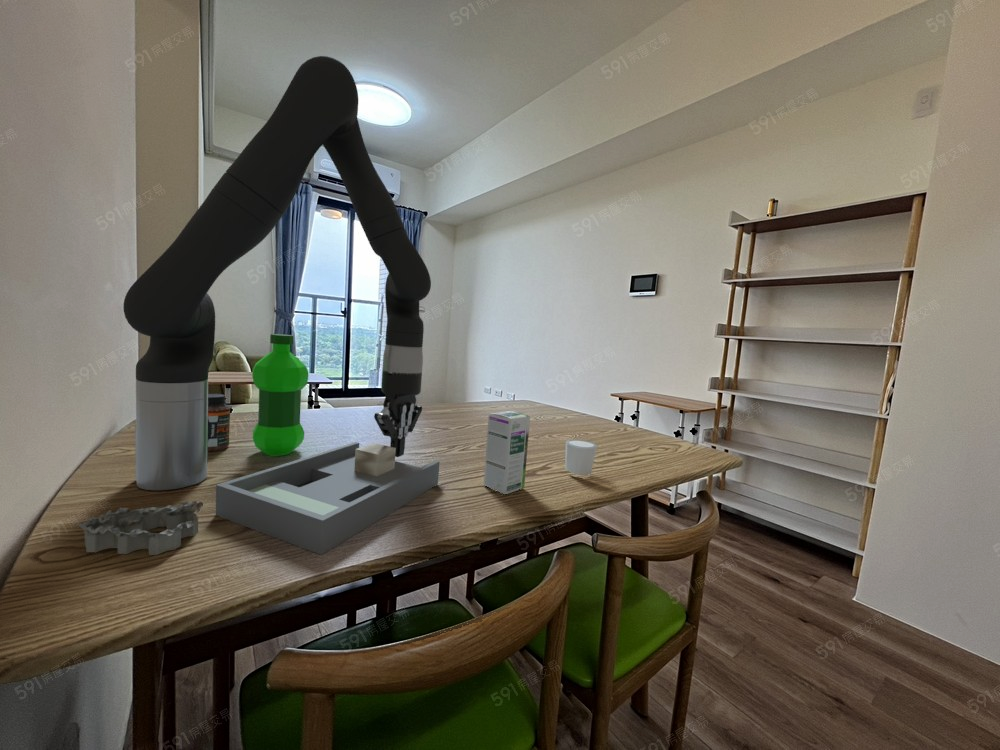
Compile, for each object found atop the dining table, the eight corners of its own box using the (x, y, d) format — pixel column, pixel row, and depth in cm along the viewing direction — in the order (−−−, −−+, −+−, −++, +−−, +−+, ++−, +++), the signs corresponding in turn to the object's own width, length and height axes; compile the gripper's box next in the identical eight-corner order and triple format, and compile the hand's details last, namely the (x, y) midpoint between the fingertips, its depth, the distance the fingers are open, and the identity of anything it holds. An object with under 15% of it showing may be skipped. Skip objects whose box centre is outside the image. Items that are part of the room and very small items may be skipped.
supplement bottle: (221, 452, 83) (222, 398, 82) (188, 451, 82) (188, 396, 81) (234, 444, 89) (235, 393, 88) (204, 443, 88) (204, 392, 87)
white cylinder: (583, 468, 94) (586, 439, 93) (599, 479, 88) (603, 447, 87) (556, 469, 92) (560, 439, 91) (571, 480, 85) (575, 448, 85)
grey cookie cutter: (208, 529, 55) (208, 500, 54) (163, 561, 47) (164, 527, 47) (126, 523, 54) (126, 494, 54) (68, 554, 47) (68, 520, 46)
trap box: (437, 484, 77) (439, 461, 76) (321, 554, 51) (322, 520, 50) (354, 463, 84) (355, 442, 83) (215, 514, 58) (216, 484, 58)
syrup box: (504, 496, 74) (512, 418, 72) (482, 485, 78) (488, 411, 76) (524, 489, 78) (531, 415, 77) (502, 479, 82) (508, 409, 81)
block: (354, 470, 73) (355, 449, 73) (372, 463, 78) (374, 442, 77) (376, 476, 71) (378, 454, 71) (394, 468, 76) (395, 447, 75)
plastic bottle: (276, 463, 80) (280, 336, 77) (238, 453, 84) (240, 332, 81) (315, 450, 89) (320, 337, 87) (279, 442, 93) (283, 333, 90)
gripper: (406, 365, 86) (401, 444, 88) (363, 368, 74) (358, 460, 76) (436, 369, 83) (430, 451, 85) (397, 373, 71) (391, 468, 73)
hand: (396, 455), depth 81 cm, fingers closed
